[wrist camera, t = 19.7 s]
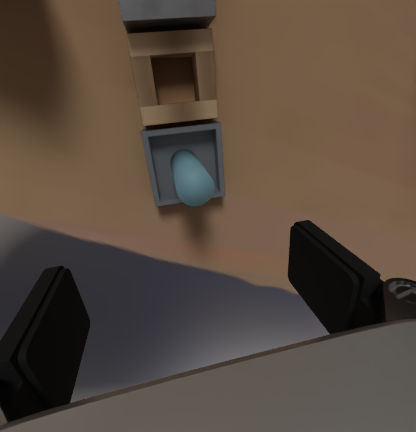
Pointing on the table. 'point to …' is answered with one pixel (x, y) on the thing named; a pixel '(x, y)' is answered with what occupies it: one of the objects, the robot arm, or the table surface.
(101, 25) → the table surface
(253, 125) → the table surface
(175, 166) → the dowel
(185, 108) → the socket
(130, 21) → the gray rectangular block
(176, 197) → the tray
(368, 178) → the table surface
